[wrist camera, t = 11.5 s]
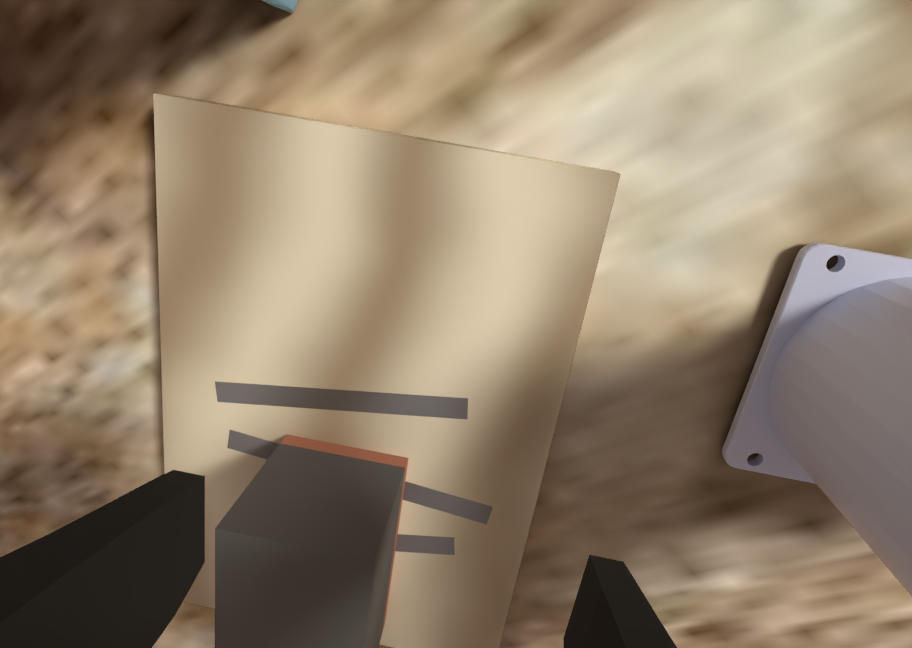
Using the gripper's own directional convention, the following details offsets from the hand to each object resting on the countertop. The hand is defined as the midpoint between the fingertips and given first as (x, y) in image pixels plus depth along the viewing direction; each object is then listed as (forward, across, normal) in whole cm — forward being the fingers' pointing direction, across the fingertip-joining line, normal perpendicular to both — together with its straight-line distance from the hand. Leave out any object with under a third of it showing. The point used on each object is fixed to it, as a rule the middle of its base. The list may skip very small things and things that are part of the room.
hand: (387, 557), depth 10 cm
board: (+10, +3, +3) cm, 11 cm away
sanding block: (+9, +3, +8) cm, 12 cm away
